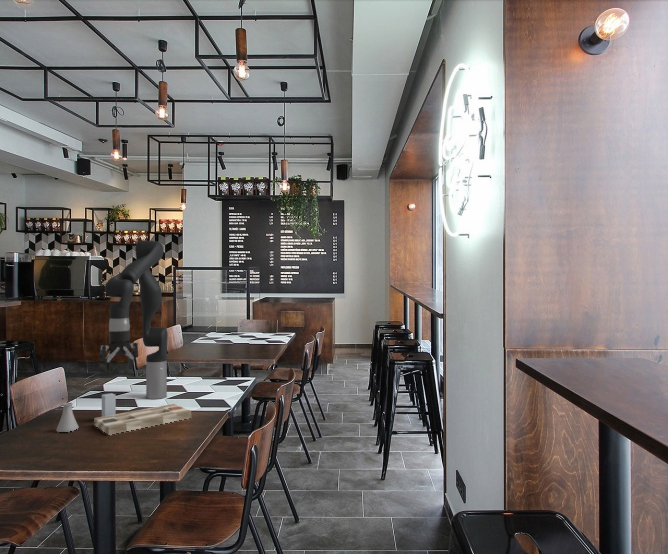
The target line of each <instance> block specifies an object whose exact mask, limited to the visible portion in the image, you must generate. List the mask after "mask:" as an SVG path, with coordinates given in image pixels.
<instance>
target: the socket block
mask: <svg viewBox="0 0 668 554" xmlns="http://www.w3.org/2000/svg"><path fill="white" fill-rule="evenodd" d="M189 418H191V419H192V411H191V410H190V409H187V408H185V407H183V406H179V405H178V404H175V403H171V404H165V405H160V406H153V407H148V408H143V409H142V408H141V409H138V410H133V411H132V410H131V411H127V412H122V413H121V412H120V413H116V414H115V415H109V416H104V417H102V416H99V417H95V418H93V421H94V422H93V426H94V425H95V426H96V427H98V428H99V429H101V430H102V431H103V432H102V431H101V430H100V431H101V432H102V433H104V432H105V433H107V434H108V435H110V436H113V435H112V434H115V435H117V434H116V433H119V434H122V433H121V432H124V433H127V432H126V431H129V432H132V431H131V430H134V431H137V430H136V429H139V430H142V429H141V428H144V429H146V428H145V427H148V428H152V427H151V426H153V427H156V426H155V425H158V426H161V425H160V424H163V425H166V424H165V423H168V424H171V423H170V422H172V423H175V422H174V421H177V422H180V421H179V420H182V421H185V420H184V419H187V420H190V419H189ZM95 426H94V427H95ZM96 427H95V428H96ZM98 428H97V429H98ZM99 429H98V430H99ZM105 433H104V434H105ZM107 434H106V435H107ZM108 435H107V436H108Z"/></svg>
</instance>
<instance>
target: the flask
mask: <svg viewBox="0 0 668 554" xmlns="http://www.w3.org/2000/svg"><path fill="white" fill-rule="evenodd" d="M73 404H74V403H72V402H66V403H62V404H61V405H62V408H63V410H62V414H61V417H60V420H59V422H58V424H57V427H56V429H55V432H56V431H57V433H59V432H68V433H71V432H70V431H72V432H75V431H74V430H76V429H77V430H79V429H80V426H79V424H78V422H77V420H76V418H75V415H74V412H73ZM78 428H79V429H78ZM77 430H76V431H77Z"/></svg>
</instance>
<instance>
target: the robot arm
mask: <svg viewBox="0 0 668 554" xmlns="http://www.w3.org/2000/svg"><path fill="white" fill-rule="evenodd" d="M134 252H135V260H133V261H132V262H130V263H129V264H127V265H126V266H125V267H124V269H122V271H121V272H120V273H117V274H115V275H114V276H112V277H111V278H110V279H108V281H106V283H105V284H104V285H105V286H104V292H105V294H106V295H107V296H108V297H111V298H120V300H119V301H118V302H115V303H112V304H110V306H109V322H108V345H100V347H99V361H100V362H104V369H105V371H106V372H107V373H110V372H111V360H112V359H113V358H114V357H115V356H126V357H127V358H128V359H127V361H128V362H127V368H128V369H129V370H132V369H133V368H134V360H135V359H136V358H138V357H139V347H138V342H131V343H130V340H131V336H130V328H131V326H130V324H131V323H130V305H131V301H132V297H133V293H134V288H135V286H134V285H135V284H136V283H137V282H138V280H139V292H140V295H139V296H140V304H141V306H140V307H141V315H142V316H141V317H142V342H143V345H144V346H145V347H147V348H148V347H149V348H153V347H154V348H157V347H158V349H157V350H156V351H154V352H152V353H149V354H147V355H146V357H145V359H146V362H145V364H146V365H145V371H146V373H145V375H146V376H145V381H146V383H145V388H146V389H145V397H146V399H149V400H157V399H164V398H166V397H167V395H168V391H167V390H168V388H167V386H168V378H167V377H168V375H167V374H168V370H167V369H168V368H167V366H168V363H167V361H168V360H167V359H168V336H169V334H168V329H167V328H166V327H164V326H161V327H159V326H155V327H154V326H151V324H152V320H153V317H154V316H155V314H156V313H157V311H158V310H159V308H160V307H161V304H162V299H163V296H162V295H163V294H162V287H161V285H160V283H159V282H158V280H157V279H156V278H155V276H154V275H153V273H152V272H151V270H150V268H152V267H153V266H154V265H155V264H157V263H159V261H160V260H161V259H163V255H164V246H163V244H162V242H160V241H156V240H138V241H137V242H136V244H135V251H134ZM130 348H131V349H132V352H130V350H129V349H130ZM108 350H109V352H108V353H107V355H106V352H107V351H108Z"/></svg>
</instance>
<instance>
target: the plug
mask: <svg viewBox="0 0 668 554" xmlns="http://www.w3.org/2000/svg"><path fill="white" fill-rule="evenodd" d="M116 400H117V399H116V394H114V393H112V392H111V393H105V394H101V417H104V416H109V415H115V414H117V412H116V410H117V409H116V407H117V406H116V404H117V403H116Z"/></svg>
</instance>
